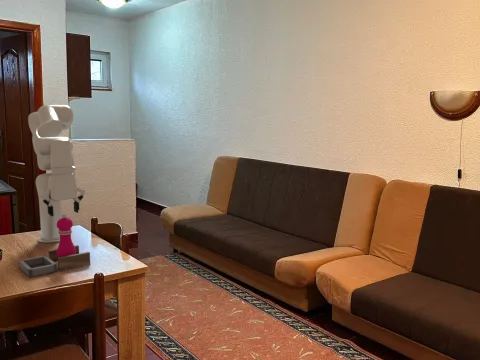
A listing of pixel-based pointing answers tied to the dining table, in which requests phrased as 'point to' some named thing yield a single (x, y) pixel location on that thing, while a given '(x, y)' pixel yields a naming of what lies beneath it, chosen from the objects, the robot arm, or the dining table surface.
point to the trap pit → (37, 266)
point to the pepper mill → (65, 237)
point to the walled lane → (70, 259)
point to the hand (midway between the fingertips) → (64, 213)
